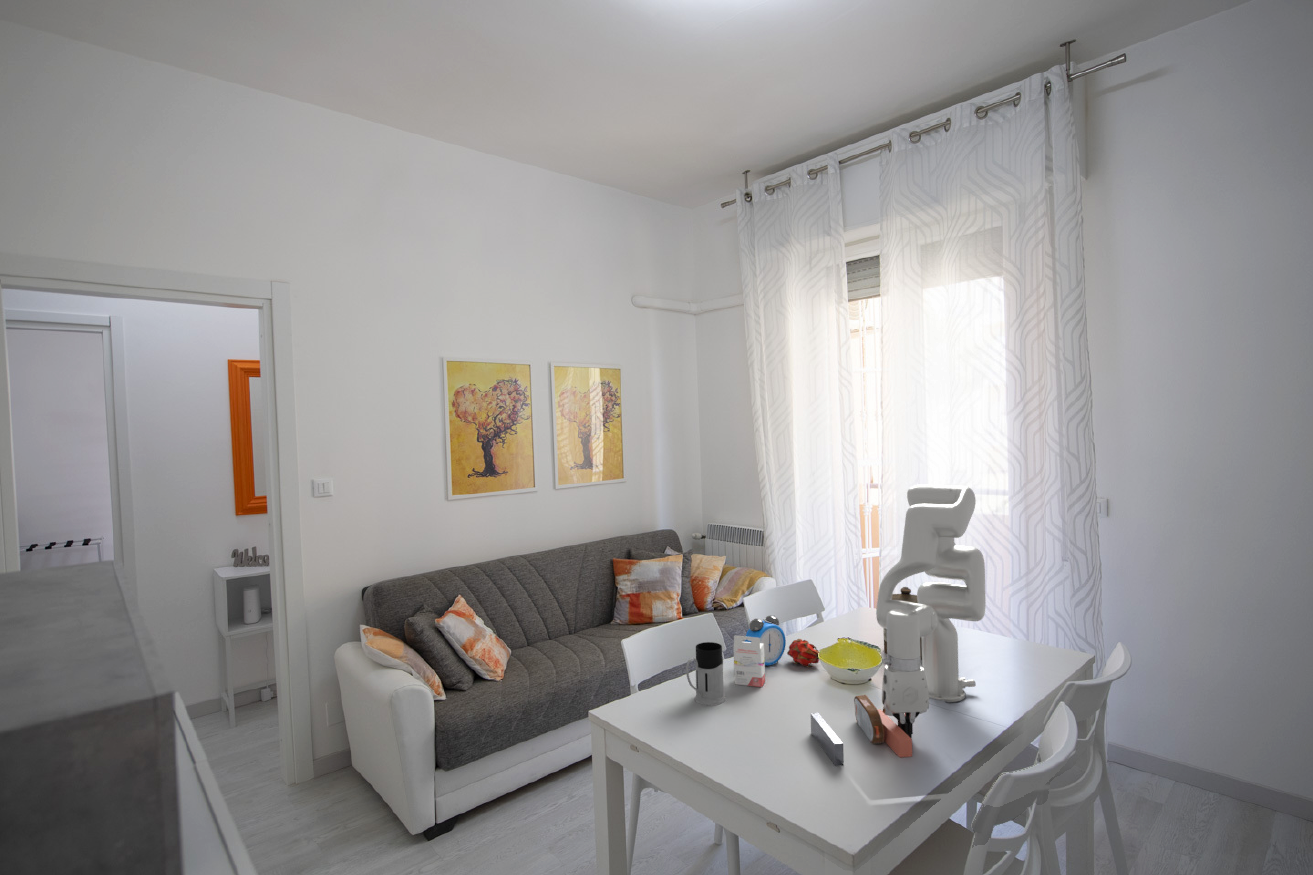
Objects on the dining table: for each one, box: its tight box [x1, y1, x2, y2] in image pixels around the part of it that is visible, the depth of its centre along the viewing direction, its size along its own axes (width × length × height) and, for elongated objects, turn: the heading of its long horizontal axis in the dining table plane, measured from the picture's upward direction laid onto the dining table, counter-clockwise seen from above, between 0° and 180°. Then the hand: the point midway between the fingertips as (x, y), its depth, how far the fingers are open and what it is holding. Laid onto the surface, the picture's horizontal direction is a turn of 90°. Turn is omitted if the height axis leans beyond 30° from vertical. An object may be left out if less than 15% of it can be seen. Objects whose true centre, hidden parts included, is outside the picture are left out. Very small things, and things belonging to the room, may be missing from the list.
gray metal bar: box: [810, 712, 845, 767], centre depth 156 cm, size 2×16×5 cm, turn 6°
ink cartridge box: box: [732, 634, 766, 688], centre depth 197 cm, size 9×5×15 cm, turn 68°
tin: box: [853, 694, 884, 745], centre depth 162 cm, size 15×3×8 cm, turn 0°
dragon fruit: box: [786, 638, 820, 668], centre depth 211 cm, size 8×8×12 cm
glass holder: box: [685, 641, 726, 706], centre depth 184 cm, size 9×14×15 cm, turn 137°
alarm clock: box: [743, 615, 787, 667], centre depth 212 cm, size 13×6×15 cm, turn 122°
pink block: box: [877, 708, 913, 758], centre depth 157 cm, size 3×16×4 cm, turn 6°
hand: (905, 737), depth 158 cm, fingers closed
